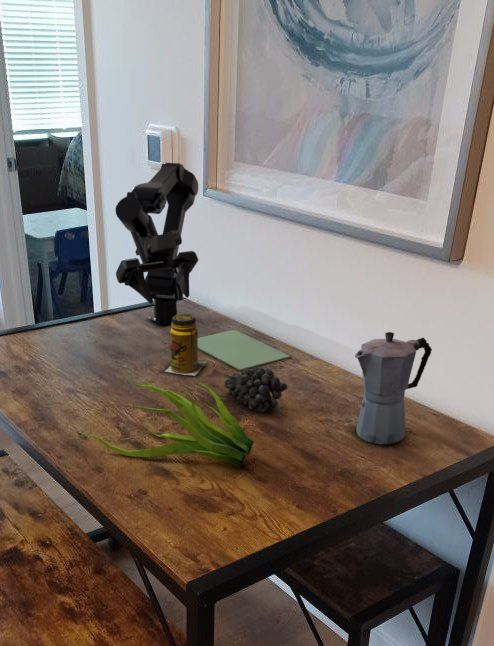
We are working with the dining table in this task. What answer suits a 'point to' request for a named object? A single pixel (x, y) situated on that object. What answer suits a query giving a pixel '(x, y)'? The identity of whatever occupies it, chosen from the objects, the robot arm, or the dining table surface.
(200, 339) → the mat
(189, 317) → the condiment
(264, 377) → the fruit
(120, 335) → the dining table surface
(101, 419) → the dining table surface
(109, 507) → the dining table surface
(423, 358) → the moka pot
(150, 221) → the robot arm
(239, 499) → the dining table surface
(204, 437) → the decorative plant
